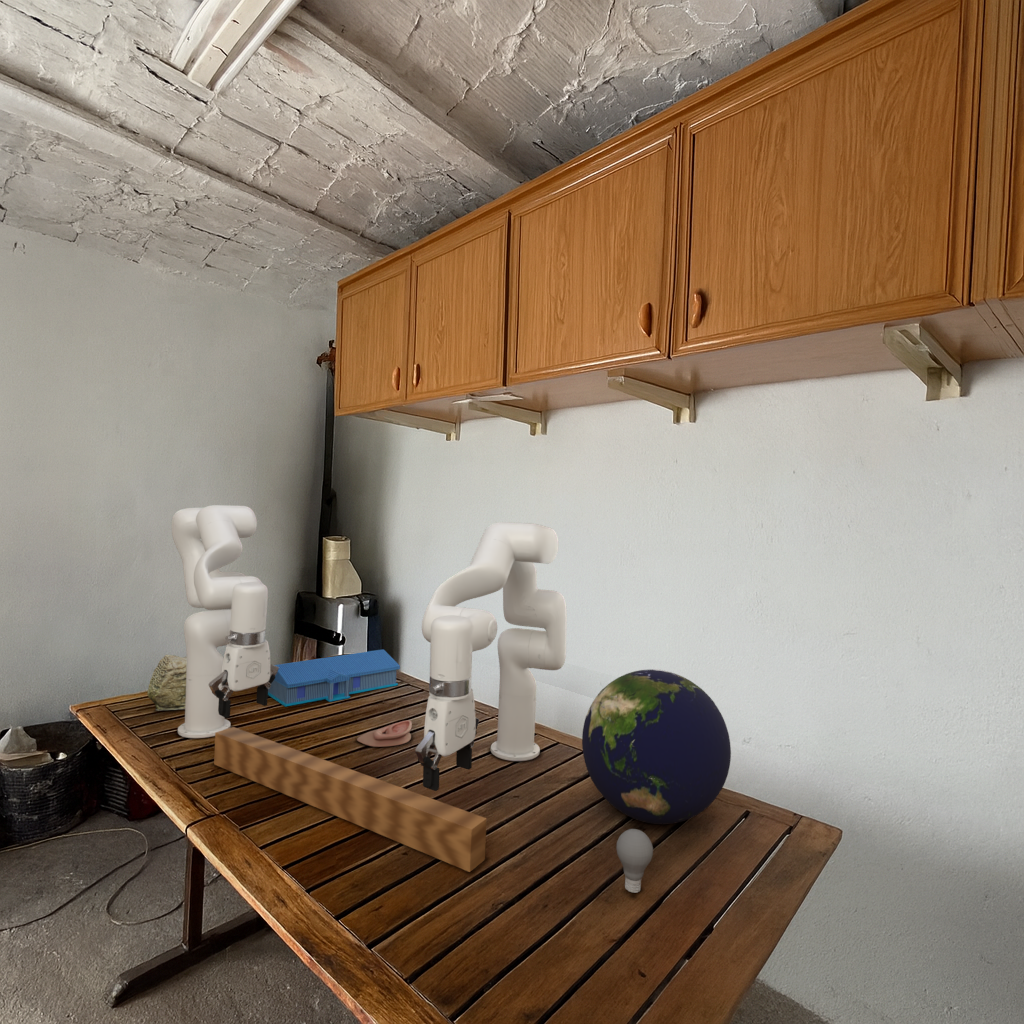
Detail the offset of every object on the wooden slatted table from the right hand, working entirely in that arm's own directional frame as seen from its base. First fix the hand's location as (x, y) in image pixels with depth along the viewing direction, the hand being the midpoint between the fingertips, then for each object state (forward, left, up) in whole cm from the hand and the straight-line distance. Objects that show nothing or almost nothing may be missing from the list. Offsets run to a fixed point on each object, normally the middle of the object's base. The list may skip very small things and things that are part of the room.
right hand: (447, 777), depth 115 cm
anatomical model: (-50, -23, -14) cm, 57 cm away
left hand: (-29, -51, 0) cm, 59 cm away
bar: (-14, -25, -14) cm, 32 cm away
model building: (-91, -50, -14) cm, 104 cm away
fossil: (-67, -86, -14) cm, 110 cm away
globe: (-17, +41, -14) cm, 46 cm away
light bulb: (+9, +33, -14) cm, 36 cm away
